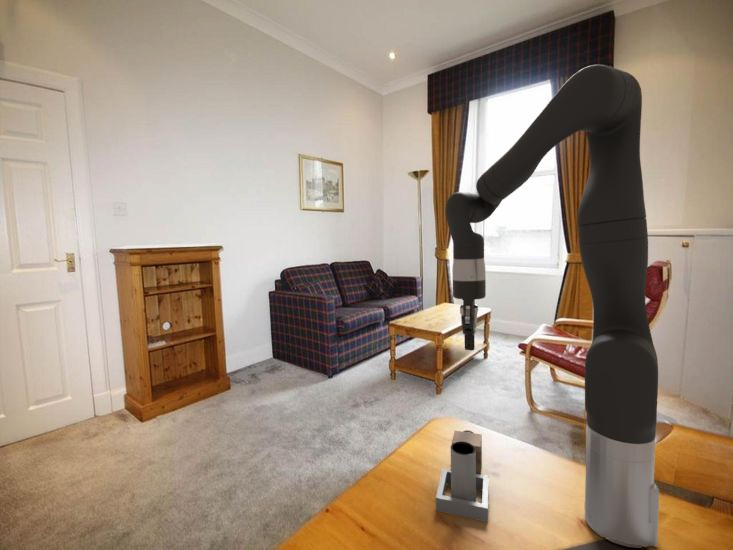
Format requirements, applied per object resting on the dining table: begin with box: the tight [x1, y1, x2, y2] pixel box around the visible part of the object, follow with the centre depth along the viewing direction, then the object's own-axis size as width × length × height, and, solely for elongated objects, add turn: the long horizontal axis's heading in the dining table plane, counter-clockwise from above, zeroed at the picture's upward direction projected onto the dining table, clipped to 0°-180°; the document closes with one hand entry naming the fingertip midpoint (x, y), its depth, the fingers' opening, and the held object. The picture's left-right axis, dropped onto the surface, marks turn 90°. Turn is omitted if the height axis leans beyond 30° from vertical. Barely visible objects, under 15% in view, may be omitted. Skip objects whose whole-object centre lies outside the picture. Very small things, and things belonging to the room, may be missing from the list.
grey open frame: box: [435, 467, 490, 523], centre depth 67 cm, size 9×9×2 cm
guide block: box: [451, 430, 483, 475], centre depth 76 cm, size 6×5×7 cm
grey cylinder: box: [450, 441, 477, 502], centre depth 67 cm, size 4×4×10 cm
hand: (469, 349), depth 85 cm, fingers closed
